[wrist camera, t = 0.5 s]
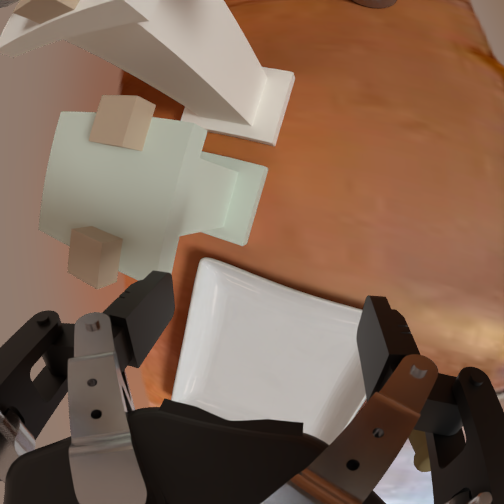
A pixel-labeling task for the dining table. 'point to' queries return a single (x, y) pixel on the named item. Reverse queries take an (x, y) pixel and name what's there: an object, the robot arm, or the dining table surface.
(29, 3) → the tall stand
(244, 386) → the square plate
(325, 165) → the dining table surface
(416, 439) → the olive pepper mill
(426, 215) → the dining table surface
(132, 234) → the low stand
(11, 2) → the grey bulb-ended bar
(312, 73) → the dining table surface
